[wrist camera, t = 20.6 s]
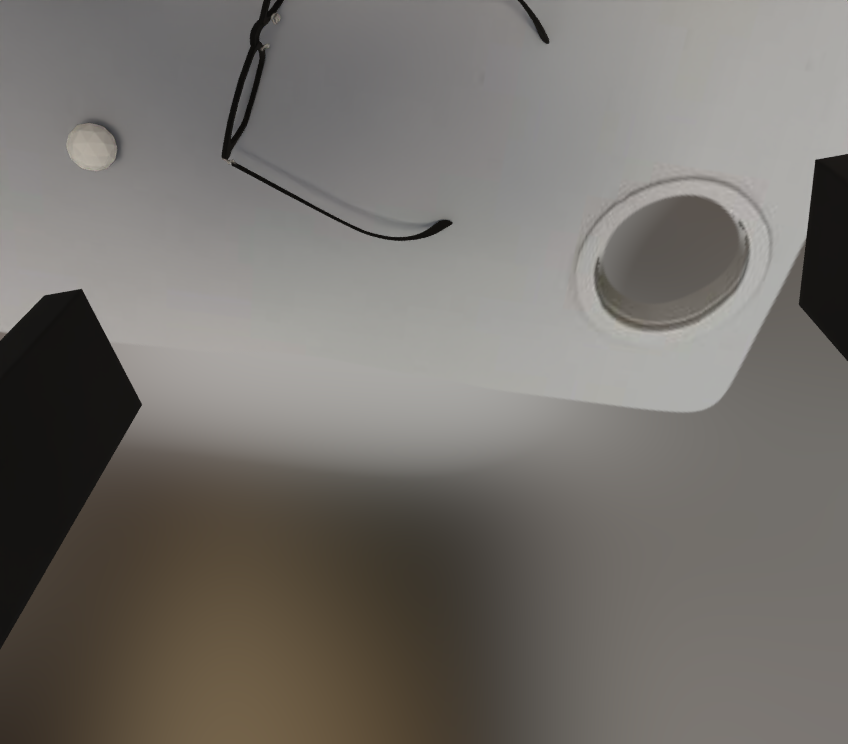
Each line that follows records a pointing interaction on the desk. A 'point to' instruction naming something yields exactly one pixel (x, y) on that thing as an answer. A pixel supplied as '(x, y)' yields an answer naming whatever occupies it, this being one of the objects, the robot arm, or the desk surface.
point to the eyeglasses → (231, 142)
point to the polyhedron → (91, 147)
